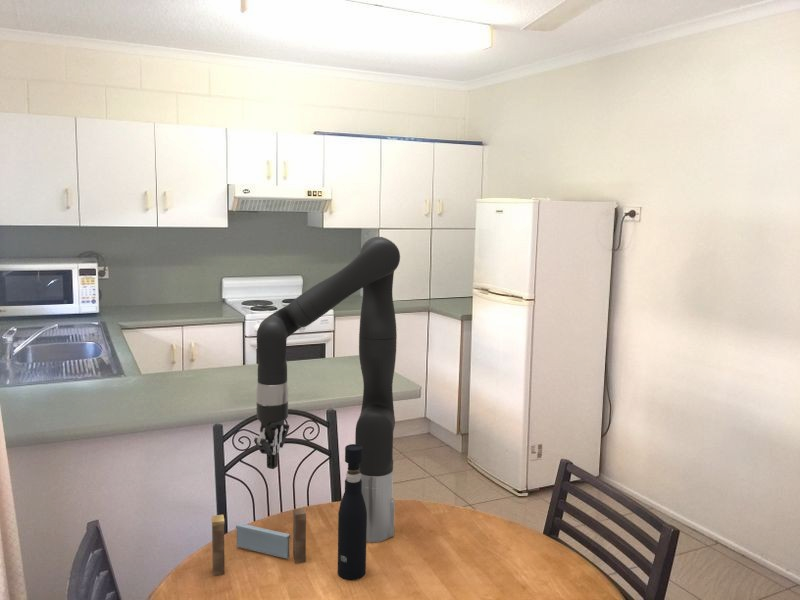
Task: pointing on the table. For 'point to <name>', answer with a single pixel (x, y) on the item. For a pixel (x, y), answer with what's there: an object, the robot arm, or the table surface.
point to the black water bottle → (352, 520)
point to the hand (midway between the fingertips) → (272, 467)
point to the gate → (263, 540)
